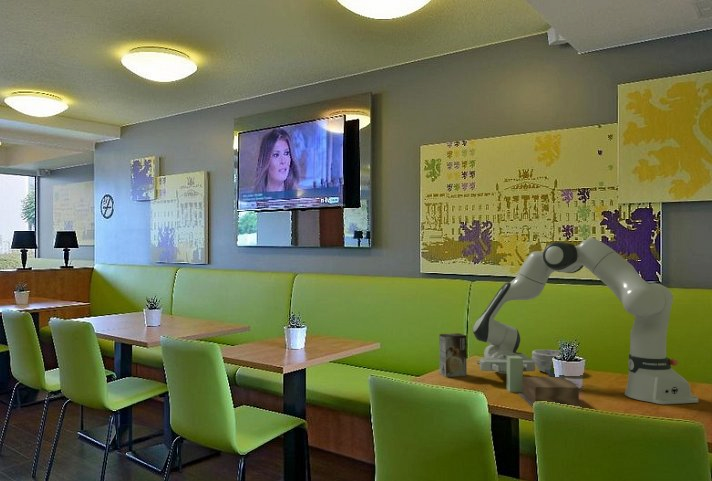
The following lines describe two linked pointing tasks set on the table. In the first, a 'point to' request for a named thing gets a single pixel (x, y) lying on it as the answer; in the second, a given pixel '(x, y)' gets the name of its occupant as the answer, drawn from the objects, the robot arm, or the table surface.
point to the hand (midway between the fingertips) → (512, 369)
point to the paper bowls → (544, 358)
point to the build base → (549, 390)
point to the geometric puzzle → (550, 371)
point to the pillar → (514, 373)
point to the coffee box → (452, 355)
